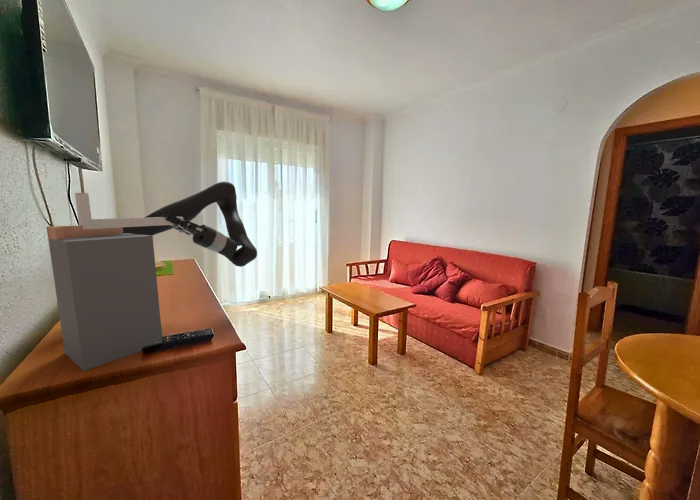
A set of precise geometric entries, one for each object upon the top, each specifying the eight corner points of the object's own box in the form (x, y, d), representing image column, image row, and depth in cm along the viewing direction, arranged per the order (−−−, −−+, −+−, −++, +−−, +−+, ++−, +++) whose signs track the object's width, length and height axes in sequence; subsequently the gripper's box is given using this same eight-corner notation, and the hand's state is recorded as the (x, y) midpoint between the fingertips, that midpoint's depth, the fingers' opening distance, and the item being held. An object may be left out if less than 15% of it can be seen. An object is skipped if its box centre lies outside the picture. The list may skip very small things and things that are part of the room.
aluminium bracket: (79, 228, 80) (74, 193, 78) (179, 224, 101) (176, 195, 100) (83, 229, 78) (78, 192, 77) (183, 224, 99) (181, 195, 98)
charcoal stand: (64, 353, 81) (46, 226, 77) (139, 331, 96) (128, 223, 91) (83, 371, 73) (64, 228, 68) (162, 343, 87) (151, 225, 82)
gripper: (203, 229, 114) (159, 206, 101) (225, 230, 106) (180, 206, 93) (195, 246, 112) (149, 226, 98) (217, 249, 104) (170, 227, 91)
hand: (164, 216), depth 96 cm, fingers closed on aluminium bracket, 3 cm apart
